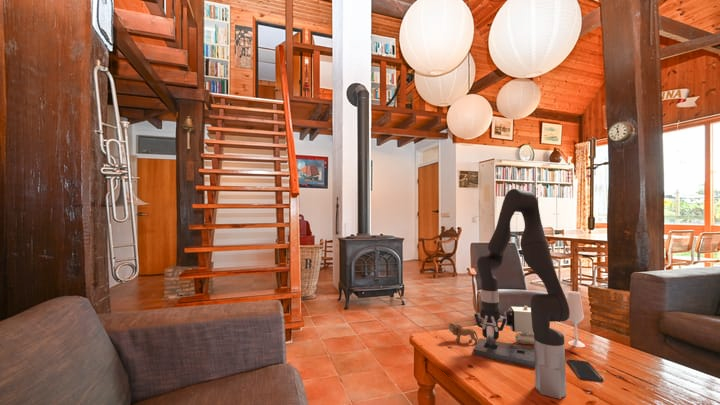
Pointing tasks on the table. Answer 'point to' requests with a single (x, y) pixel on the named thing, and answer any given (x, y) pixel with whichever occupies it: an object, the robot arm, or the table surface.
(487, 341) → the flashlight
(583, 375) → the phone
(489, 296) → the robot arm
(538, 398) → the table surface
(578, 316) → the champagne flute
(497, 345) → the grey board with holes
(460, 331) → the lion figurine
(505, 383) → the table surface
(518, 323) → the security camera
